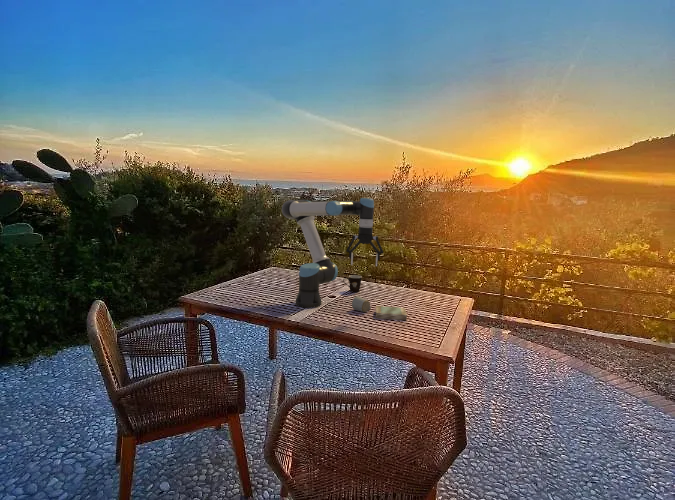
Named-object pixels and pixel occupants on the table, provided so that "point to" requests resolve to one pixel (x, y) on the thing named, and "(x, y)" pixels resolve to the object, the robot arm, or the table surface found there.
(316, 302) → the robot arm
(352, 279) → the coffee mug
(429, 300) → the table surface
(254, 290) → the table surface
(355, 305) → the ceramic mug
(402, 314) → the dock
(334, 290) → the table surface
